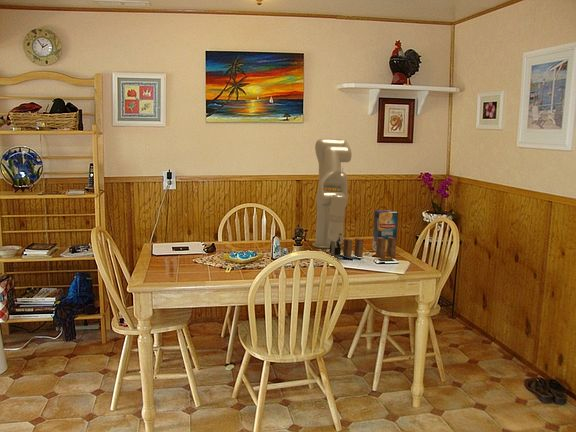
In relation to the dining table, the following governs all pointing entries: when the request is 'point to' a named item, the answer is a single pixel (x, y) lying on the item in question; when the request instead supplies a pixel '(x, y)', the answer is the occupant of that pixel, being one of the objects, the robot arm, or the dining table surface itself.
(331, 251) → the domino
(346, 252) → the domino
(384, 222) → the beverage box
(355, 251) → the domino
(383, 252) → the domino
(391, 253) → the domino
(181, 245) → the dining table surface
